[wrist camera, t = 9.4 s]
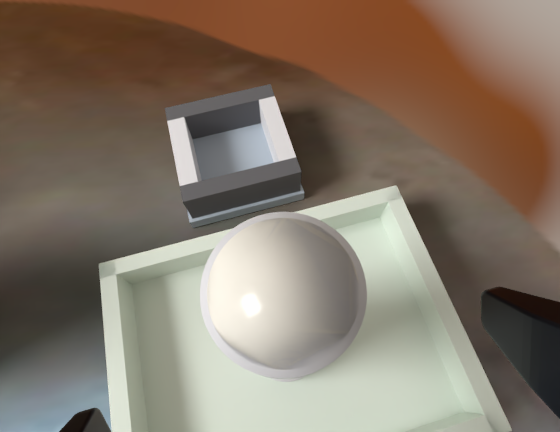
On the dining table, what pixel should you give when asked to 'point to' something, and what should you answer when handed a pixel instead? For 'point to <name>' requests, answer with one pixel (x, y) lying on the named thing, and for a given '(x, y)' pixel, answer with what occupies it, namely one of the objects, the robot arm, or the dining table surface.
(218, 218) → the tray
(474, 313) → the dining table surface
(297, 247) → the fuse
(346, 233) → the tray
